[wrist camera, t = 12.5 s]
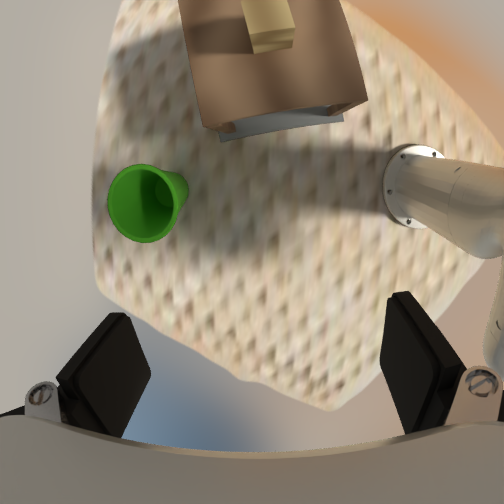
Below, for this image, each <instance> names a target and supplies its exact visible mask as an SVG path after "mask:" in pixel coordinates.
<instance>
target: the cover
mask: <svg viewBox="0 0 504 504" xmlns="http://www.w3.org/2000/svg"><path fill="white" fill-rule="evenodd" d="M178 4H179V9H180V14H181V20H182V25H183V30H184V36H185V41H186V46H187V51H188V56H189V61H190V66H191V71H192V76H193V81H194V86H195V91H196V96H197V101H198V105H199V110H200V115H201V120H202V124H203V127H206V128H209V129H213V130H216V131H220V132H223V133H226V134H229V133H234V132H236V128H235V124H234V123H233V122H231V121H235V120H239V119H244V118H249V117H254V116H259V115H265V114H270V113H276V112H282V111H288V110H294V109H301V108H308V107H316V106H325V105H330V106H329V107H328V108H327V112H328V117H330V116H337V115H339V114H341V113H343V112H345V111H347V110H349V109H351V108H353V107H355V106H357V105H360V104H362V103H364V102H366V101H368V97H367V93H366V88H365V84H364V80H363V76H362V72H361V68H360V64H359V61H358V57H357V53H356V50H355V47H354V43H353V40H352V37H351V33H350V30H349V27H348V24H347V21H346V18H345V15H344V13H343V10H342V7H341V4H340V2H339V0H178Z"/></svg>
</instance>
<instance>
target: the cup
mask: <svg viewBox="0 0 504 504" xmlns="http://www.w3.org/2000/svg"><path fill="white" fill-rule="evenodd" d="M188 192H189V189H188V184H187V182H186V180H185V179H184V178H183V177H182V176H181V175H179V174H177V173H174V172H168V171H163V170H160V169H158V168H156V167H153V166H151V165H146V164H137V165H132V166H129V167H127V168H125V169H124V170H122V171H121V172H120V173H119V174H118V175H117V176H116V177H115V179H114V180H113V182H112V184H111V187H110V189H109V193H108V199H107V200H108V211H109V215H110V218H111V220H112V222H113V224H114V225H115V227H116V228H117V229H118V231H119V232H120V233H122V234H123V235H124V236H125V237H127V238H129V239H131V240H133V241H136V242H140V243H151V242H154V241H158V240H160V239H161V238H163V237H164V236H166V235H167V234H168V233H169V232H170V230H171V229H172V228H173V226H174V224H175V222H176V219H177V215H178V212H179V211H180V209H181V207H182V206H183V204H184V203H185V201H186V199H187V197H188Z"/></svg>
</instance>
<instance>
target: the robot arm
mask: <svg viewBox="0 0 504 504" xmlns="http://www.w3.org/2000/svg"><path fill="white" fill-rule="evenodd" d="M432 154H433V155H432ZM401 155H402V158H401V157H400V156H401ZM388 189H389V192H388V193H387V191H388ZM383 195H384V200H385V203H386V205H387V208H388V210H389V211H390V213H391V214H392V215H393V217H394V218H395V219H396V220H397V221H399V222H400V223H402V224H403V225H405V226H407V227H410V228H413V229H425V228H430V229H431V230H433V231H435V232H436V233H438V234H439V235H441V236H442V237H444V238H446V239H447V240H449V241H450V242H452V243H453V244H455V245H456V246H458V247H459V248H461V249H462V250H464V251H465V252H467V253H468V254H470V255H472V256H474V257H477V258H481V259H492V258H497V257H500V256H502V263H501V269H500V273H499V276H500V277H499V281H498V285H497V290H496V294H495V298H494V302H493V306H492V309H491V313H490V317H489V320H488V324H487V327H486V331H485V335H484V340H483V354H484V358H485V361H486V363H487V365H488V367H489V368H488V367H485V366H473V367H471V368H469V369H467V368H466V367H465V366H464V364H463V362H462V361H461V360H460V358H459V357H458V355H457V354H456V352H455V351H454V350H453V348H452V347H451V345H450V344H449V342H448V341H447V340H446V338H445V337H444V335H443V334H442V333H441V331H440V330H439V329H438V327H437V326H436V325H435V324H434V323H433V321H432V320H431V319H430V317H429V316H428V315H427V313H426V312H425V311H424V309H423V308H422V307H421V306H420V304H419V303H418V302H417V300H416V299H415V298H414V297H413V295H412V294H411V293H410V292H409V291H403V292H396V293H393V294H392V297H391V298H388V300H387V307H386V316H385V324H384V332H383V339H382V346H381V353H380V366H381V369H382V371H383V374H384V377H385V379H386V382H387V384H388V387H389V390H390V392H391V395H392V398H393V401H394V403H395V406H396V409H397V412H398V415H399V417H400V420H401V423H402V426H403V429H404V432H405V435H402V436H397V437H393V438H388V439H383V440H378V441H372V442H366V443H360V444H354V445H348V446H340V447H333V448H324V449H315V450H303V451H288V452H287V451H286V452H221V451H205V450H193V449H184V448H176V447H168V446H161V445H155V444H148V443H142V442H136V441H131V440H127V439H122V438H121V437H122V435H123V433H124V430H125V428H126V427H127V425H128V422H129V420H130V418H131V416H132V414H133V412H134V409H135V408H136V406H137V404H138V402H139V400H140V398H141V395H142V394H143V392H144V389H145V387H146V385H147V383H148V381H149V379H150V377H151V370H150V367H149V365H148V363H147V360H146V358H145V355H144V353H143V350H142V348H141V345H140V343H139V340H138V338H137V335H136V332H135V329H134V327H133V324H132V321H131V319H130V317H128V316H127V315H126V314H125V313H110V314H108V316H107V317H106V318H105V319H104V320H103V321H102V322H101V323H100V325H99V326H98V327H97V328H96V329H95V331H94V332H93V333H92V334H91V335H90V336H89V337H88V339H87V340H86V341H85V342H84V343H83V344H82V346H81V347H80V348H79V349H78V350H77V352H76V353H75V354H74V355H73V356H72V358H71V359H70V360H69V361H68V363H67V364H66V365H65V366H64V367H63V369H62V370H61V371H60V372H59V374H58V375H57V376H56V379H57V381H58V382H59V384H60V385H59V386H58V387H57V386H56V385H55V384H54V383H52V382H47V381H46V382H41V383H38V384H36V385H35V386H33V387H32V388H31V389H30V390H29V391H28V393H27V395H26V398H25V405H24V406H22V407H19V408H16V409H14V410H11V411H9V412H6V413H3V414H0V504H504V390H503V381H504V168H501V167H494V166H489V165H483V164H478V163H472V162H466V161H459V160H453V159H446V158H444V156H443V155H442V154H441V153H439V152H438V151H437V150H435V149H433V148H432V147H429V146H425V145H411V146H408V147H405V148H403V149H401V150H400V151H398V152H397V153H396V154H395V155H394V156H393V157H392V159H391V160H390V161H389V163H388V165H387V167H386V170H385V173H384V177H383ZM407 219H408V221H407ZM406 221H407V222H406Z"/></svg>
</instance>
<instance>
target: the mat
mask: <svg viewBox="0 0 504 504" xmlns="http://www.w3.org/2000/svg"><path fill="white" fill-rule="evenodd" d="M329 106H330V105H325V106H316V107H308V108H301V109H294V110H288V111H282V112H276V113H270V114H265V115H259V116H254V117H249V118H244V119H239V120H235V121H231V122H233V123H234V124H235V128H236V132H234V133H229V134H226V133H223V132H220V131H218V132H219V137H220V141H221V142H224V141H229V140H233V139H238V138H242V137H247V136H252V135H257V134H262V133H268V132H273V131H279V130H285V129H291V128H297V127H304V126H311V125H318V124H326V123H335V122H343V121H344V118H343V113H341V114H339V115H337V116H330V117H328V112H327V108H328V107H329Z"/></svg>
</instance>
